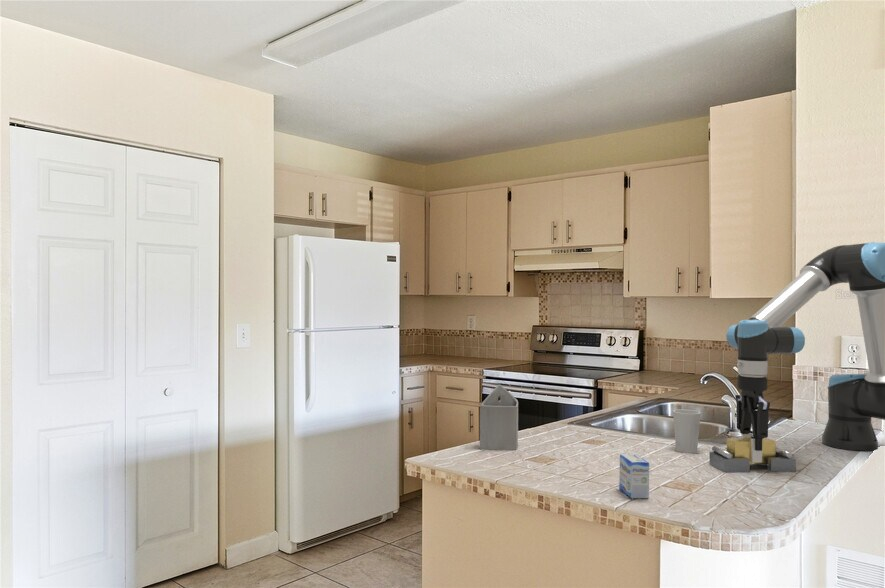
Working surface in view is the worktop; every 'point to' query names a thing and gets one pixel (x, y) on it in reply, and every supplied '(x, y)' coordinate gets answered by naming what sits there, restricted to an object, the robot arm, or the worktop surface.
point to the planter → (499, 421)
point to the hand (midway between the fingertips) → (751, 459)
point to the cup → (686, 430)
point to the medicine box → (634, 476)
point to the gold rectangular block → (743, 448)
